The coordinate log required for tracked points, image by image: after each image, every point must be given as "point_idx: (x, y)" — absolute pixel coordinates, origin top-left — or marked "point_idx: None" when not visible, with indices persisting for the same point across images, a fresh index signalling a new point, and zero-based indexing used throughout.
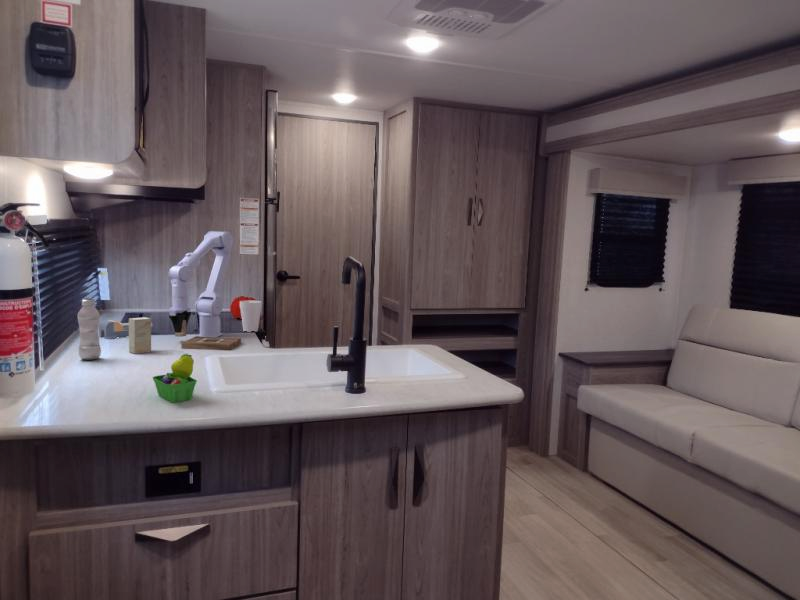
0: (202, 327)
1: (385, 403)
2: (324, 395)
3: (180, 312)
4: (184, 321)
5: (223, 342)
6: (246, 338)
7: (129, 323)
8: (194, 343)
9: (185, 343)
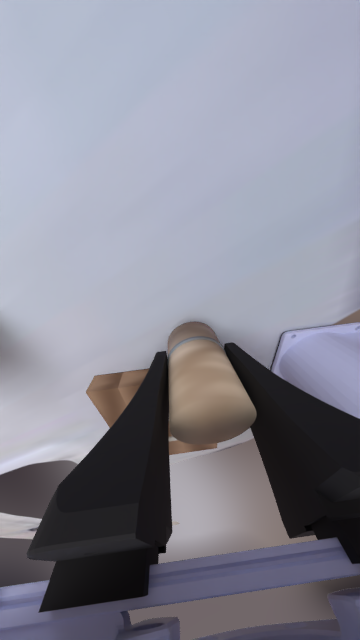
0: (315, 379)
1: (23, 537)
2: (5, 528)
3: (227, 570)
4: (198, 440)
5: None
6: None
7: None
8: (103, 417)
9: (92, 399)
